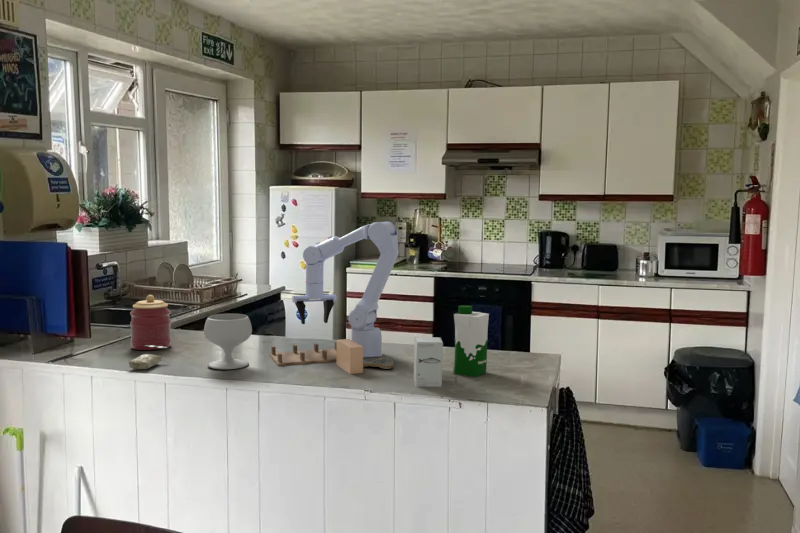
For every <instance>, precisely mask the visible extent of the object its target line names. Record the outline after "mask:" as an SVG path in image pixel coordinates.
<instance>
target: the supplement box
mask: <svg viewBox="0 0 800 533" xmlns="http://www.w3.org/2000/svg"><path fill="white" fill-rule="evenodd" d="M413 346H414V347H413V350H414V351H413V383H414V386H415V387H416V388H417V387H418V388H420V387H421V388H422V387H423V388H424V387H433V388H434V387H435V388H436V387H440V388H441V387H442V386H443V385H442V384H443V354H444V353H443V352H444V351H443V349H444V342H443V340H442V337H441V336H440V337H437V336H436V337H434V336H433V337H431V336H429V337H427V336H426V337H425V336H415V337H414V343H413Z"/></svg>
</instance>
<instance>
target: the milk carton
mask: <svg viewBox="0 0 800 533" xmlns="http://www.w3.org/2000/svg"><path fill="white" fill-rule="evenodd" d="M457 308H458V309H457V311H458V312H456V313H453V320H454V332H455V333H454V336H455V337H454V362H453V363H454V364H453V365H454V366H453V375H459V376H464V375H465V376H464V377H471V378H478V377H479V376H482V375H484V374H485V372H486V373H487V363H488V361H487V358H488V331H489V330H488V327H489V316H490V313H486V312H481V311H473V306H472V305H469V304H467V305H466V304H463V305H461V304H460V305H458V307H457ZM483 373H484V374H483ZM481 374H482V375H481Z"/></svg>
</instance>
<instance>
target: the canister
mask: <svg viewBox="0 0 800 533" xmlns="http://www.w3.org/2000/svg"><path fill="white" fill-rule="evenodd" d="M168 306H169V304H168V303H166V302H165V301H164V300H161V299H155V296H154V295H153V294H148V295H147V296H146V298H145V299H144V300H139V301H136V302H135V304H134V303H133V305H132V308H133V309H132V310H131V311H130V312H129V314H130V316H131V321H130V322H129V323H130V346H131V349H133V350H137V351H153V350H154V351H155V350H162V349H164V348H155V347H145V345H152V346H162V347H168V348H170V347H171V343H172V334H171V333H172V332H171V330H172V328H171V322H172V321H171V320H172V319H171V320H170V315H171V312H172V311H171V310H170V309H169V308H168Z"/></svg>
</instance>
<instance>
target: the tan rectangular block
mask: <svg viewBox="0 0 800 533" xmlns="http://www.w3.org/2000/svg"><path fill="white" fill-rule="evenodd" d="M336 342H337V360H336V361H335V362H336V363H335V364H336V366H337V367H339V368H341V369H342V370H343V371H344V372H346V373H347V374H349V375H355V374H362V373H364V367H363V364H364V357H363V346H361V345H359V344H357V343H356V342H354V341H352V340H351V339H350V338H343V339H336Z"/></svg>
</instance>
